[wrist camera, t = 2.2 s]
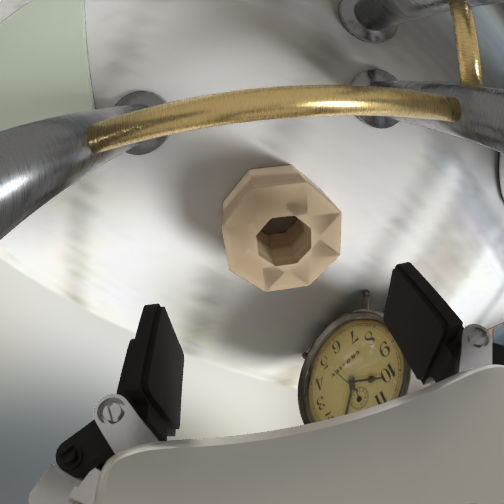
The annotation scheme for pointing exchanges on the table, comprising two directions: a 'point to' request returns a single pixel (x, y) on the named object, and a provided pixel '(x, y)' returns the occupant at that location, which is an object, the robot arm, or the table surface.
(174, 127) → the rope barrier
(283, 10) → the table surface
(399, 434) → the robot arm
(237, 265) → the pot
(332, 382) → the alarm clock
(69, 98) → the pad
